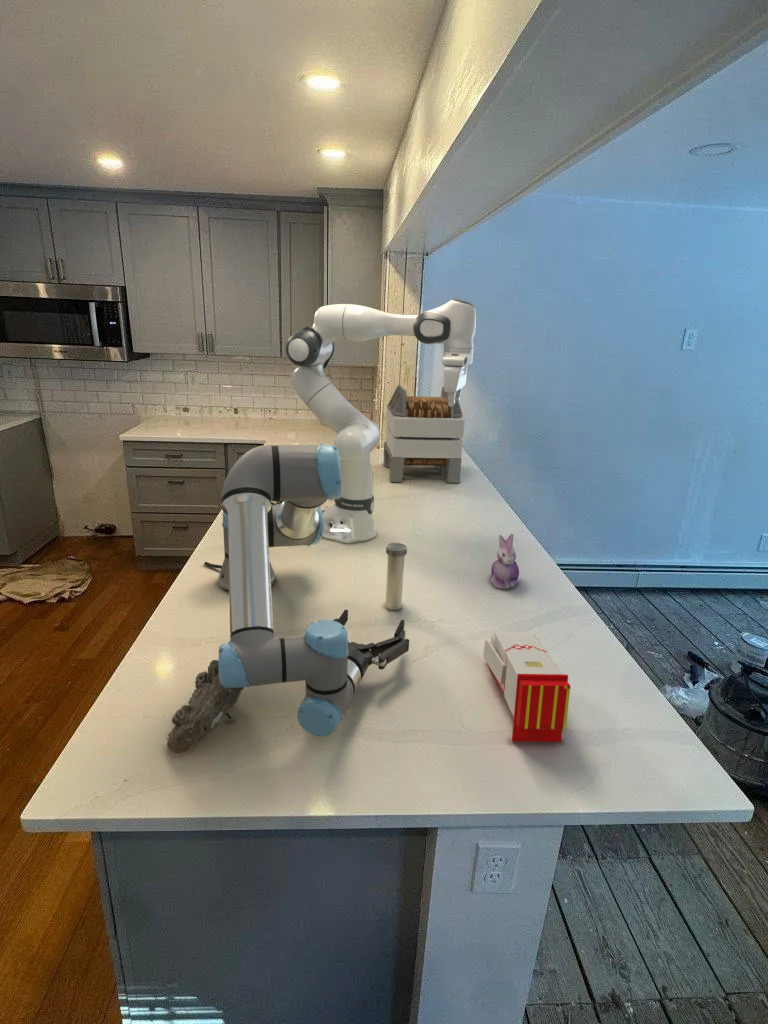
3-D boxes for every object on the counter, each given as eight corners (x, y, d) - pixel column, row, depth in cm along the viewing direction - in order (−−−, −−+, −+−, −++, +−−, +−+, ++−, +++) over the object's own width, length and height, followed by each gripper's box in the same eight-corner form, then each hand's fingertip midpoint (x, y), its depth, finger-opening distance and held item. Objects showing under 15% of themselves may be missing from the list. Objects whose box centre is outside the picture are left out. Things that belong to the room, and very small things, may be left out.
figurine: (502, 593, 161) (508, 544, 156) (480, 578, 169) (486, 531, 164) (528, 587, 165) (535, 539, 160) (505, 572, 173) (511, 527, 168)
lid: (398, 559, 142) (399, 552, 142) (381, 553, 145) (382, 547, 145) (410, 552, 146) (411, 546, 146) (394, 547, 149) (394, 541, 149)
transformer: (382, 463, 289) (386, 382, 275) (445, 464, 293) (451, 384, 279) (390, 482, 257) (394, 392, 243) (460, 483, 261) (468, 394, 247)
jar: (395, 612, 148) (398, 553, 143) (382, 606, 151) (384, 548, 145) (404, 605, 152) (408, 548, 146) (391, 600, 154) (394, 543, 148)
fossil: (192, 660, 117) (244, 628, 112) (224, 691, 120) (276, 661, 115) (142, 746, 98) (202, 712, 93) (182, 779, 101) (242, 748, 96)
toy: (532, 616, 130) (580, 681, 101) (527, 670, 133) (572, 749, 103) (479, 615, 129) (512, 680, 100) (475, 669, 132) (506, 748, 103)
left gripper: (286, 675, 116) (323, 624, 136) (404, 700, 111) (425, 643, 130) (285, 644, 114) (323, 596, 133) (406, 668, 108) (428, 614, 127)
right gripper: (453, 354, 180) (449, 398, 185) (441, 359, 161) (437, 407, 166) (473, 355, 178) (468, 400, 183) (463, 360, 160) (458, 409, 164)
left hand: (374, 619), depth 132 cm, fingers open, 13 cm apart
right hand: (453, 403), depth 174 cm, fingers open, 8 cm apart
